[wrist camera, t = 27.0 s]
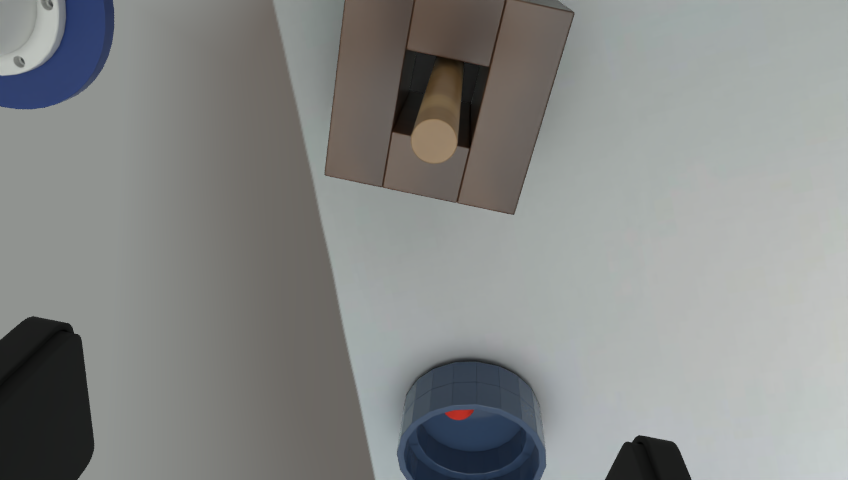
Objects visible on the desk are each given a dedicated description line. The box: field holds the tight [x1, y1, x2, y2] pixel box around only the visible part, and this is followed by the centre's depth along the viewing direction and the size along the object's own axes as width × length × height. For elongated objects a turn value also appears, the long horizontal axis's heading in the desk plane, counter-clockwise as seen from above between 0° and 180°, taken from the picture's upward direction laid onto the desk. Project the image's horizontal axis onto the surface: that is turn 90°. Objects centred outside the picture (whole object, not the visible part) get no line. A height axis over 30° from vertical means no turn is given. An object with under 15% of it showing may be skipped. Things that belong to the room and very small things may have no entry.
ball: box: [445, 410, 474, 420], centre depth 51 cm, size 3×3×3 cm
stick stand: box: [325, 0, 574, 215], centre depth 35 cm, size 12×12×10 cm
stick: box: [411, 56, 464, 164], centre depth 30 cm, size 2×2×20 cm
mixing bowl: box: [397, 361, 546, 480], centre depth 52 cm, size 13×13×6 cm
